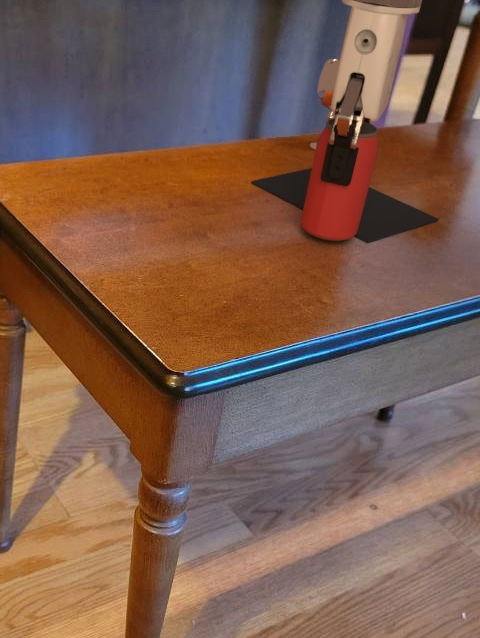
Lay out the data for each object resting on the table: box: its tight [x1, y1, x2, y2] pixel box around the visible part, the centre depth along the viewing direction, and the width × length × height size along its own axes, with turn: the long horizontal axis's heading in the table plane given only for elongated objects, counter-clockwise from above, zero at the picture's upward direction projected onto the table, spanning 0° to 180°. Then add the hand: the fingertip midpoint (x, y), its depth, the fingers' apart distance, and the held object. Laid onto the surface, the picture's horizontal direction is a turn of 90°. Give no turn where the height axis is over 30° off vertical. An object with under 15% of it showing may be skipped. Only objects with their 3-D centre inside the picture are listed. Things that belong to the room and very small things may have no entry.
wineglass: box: [309, 58, 340, 151], centre depth 109 cm, size 6×6×12 cm
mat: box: [250, 167, 440, 244], centre depth 96 cm, size 20×14×1 cm
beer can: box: [300, 117, 379, 242], centre depth 82 cm, size 7×7×12 cm
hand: (341, 171), depth 82 cm, fingers closed on beer can, 6 cm apart
